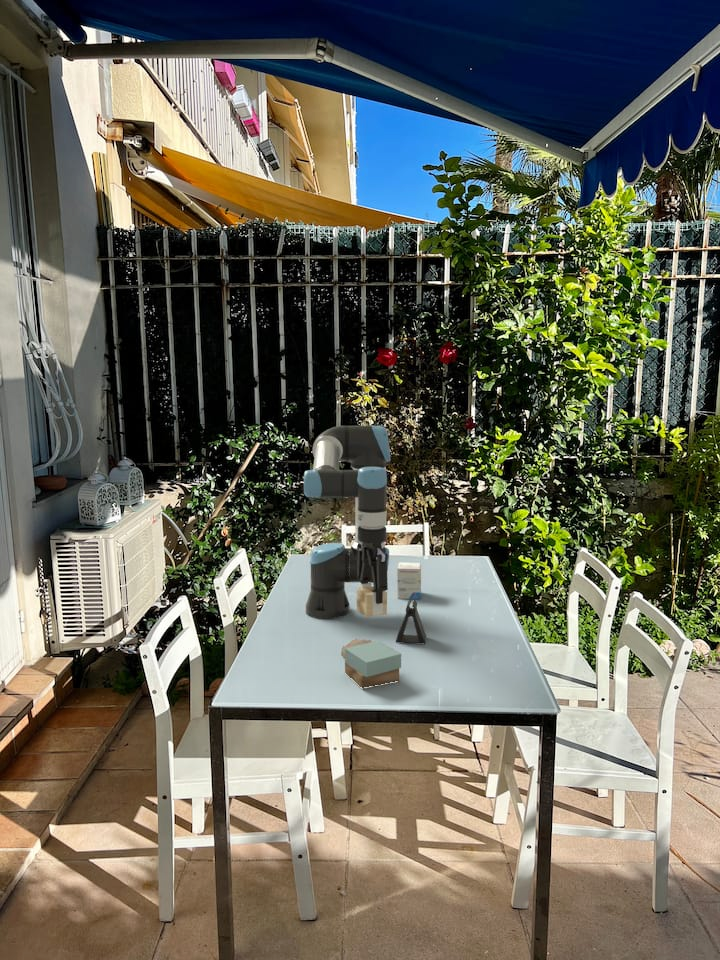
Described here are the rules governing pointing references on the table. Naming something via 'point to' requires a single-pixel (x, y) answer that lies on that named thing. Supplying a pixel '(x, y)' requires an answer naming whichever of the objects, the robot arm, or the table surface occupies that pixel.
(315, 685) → the table surface
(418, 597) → the ink box
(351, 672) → the tower base
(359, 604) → the oak block
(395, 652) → the tower top
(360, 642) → the stone
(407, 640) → the phone stand
